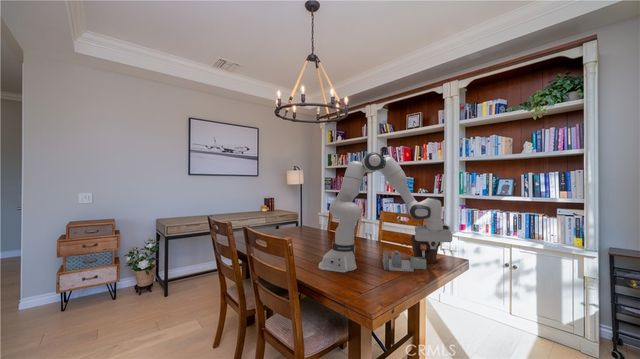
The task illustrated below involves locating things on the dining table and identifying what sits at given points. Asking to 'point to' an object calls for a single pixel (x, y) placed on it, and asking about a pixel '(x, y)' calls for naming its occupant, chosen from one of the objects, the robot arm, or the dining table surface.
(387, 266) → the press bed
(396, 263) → the block
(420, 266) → the ram guide
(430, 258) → the case
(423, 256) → the ram
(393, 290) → the dining table surface
